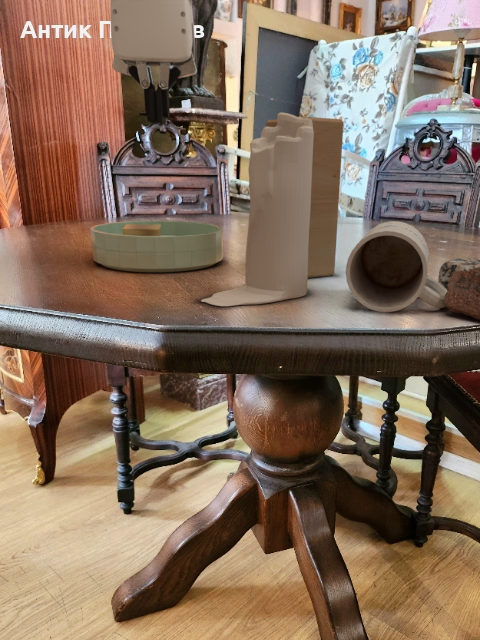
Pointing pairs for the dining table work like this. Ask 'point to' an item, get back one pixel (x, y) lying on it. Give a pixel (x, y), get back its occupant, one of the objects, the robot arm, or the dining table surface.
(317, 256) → the decorative block
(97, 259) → the bowl
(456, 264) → the rock
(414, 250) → the mug
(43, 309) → the dining table surface
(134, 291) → the dining table surface
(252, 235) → the candle
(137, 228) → the block
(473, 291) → the stone
